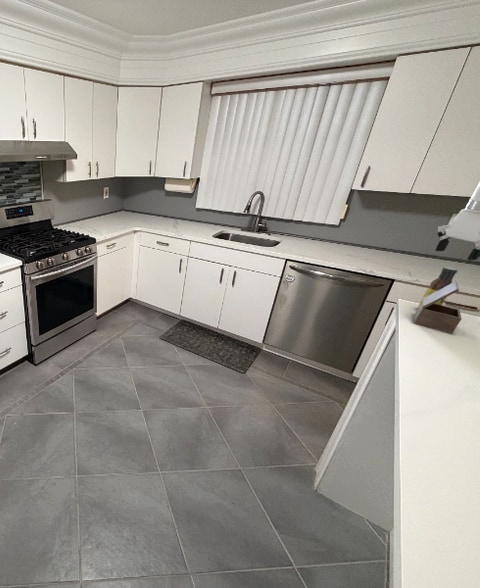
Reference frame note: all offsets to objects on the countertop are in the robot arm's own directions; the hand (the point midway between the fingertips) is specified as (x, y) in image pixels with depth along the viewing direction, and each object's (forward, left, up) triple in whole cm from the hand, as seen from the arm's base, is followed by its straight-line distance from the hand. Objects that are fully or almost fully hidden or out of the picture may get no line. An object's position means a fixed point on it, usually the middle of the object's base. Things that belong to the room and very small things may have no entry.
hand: (455, 255), depth 112 cm
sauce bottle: (-7, -13, -28) cm, 32 cm away
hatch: (-3, -2, -16) cm, 17 cm away
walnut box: (-5, -1, -28) cm, 29 cm away
